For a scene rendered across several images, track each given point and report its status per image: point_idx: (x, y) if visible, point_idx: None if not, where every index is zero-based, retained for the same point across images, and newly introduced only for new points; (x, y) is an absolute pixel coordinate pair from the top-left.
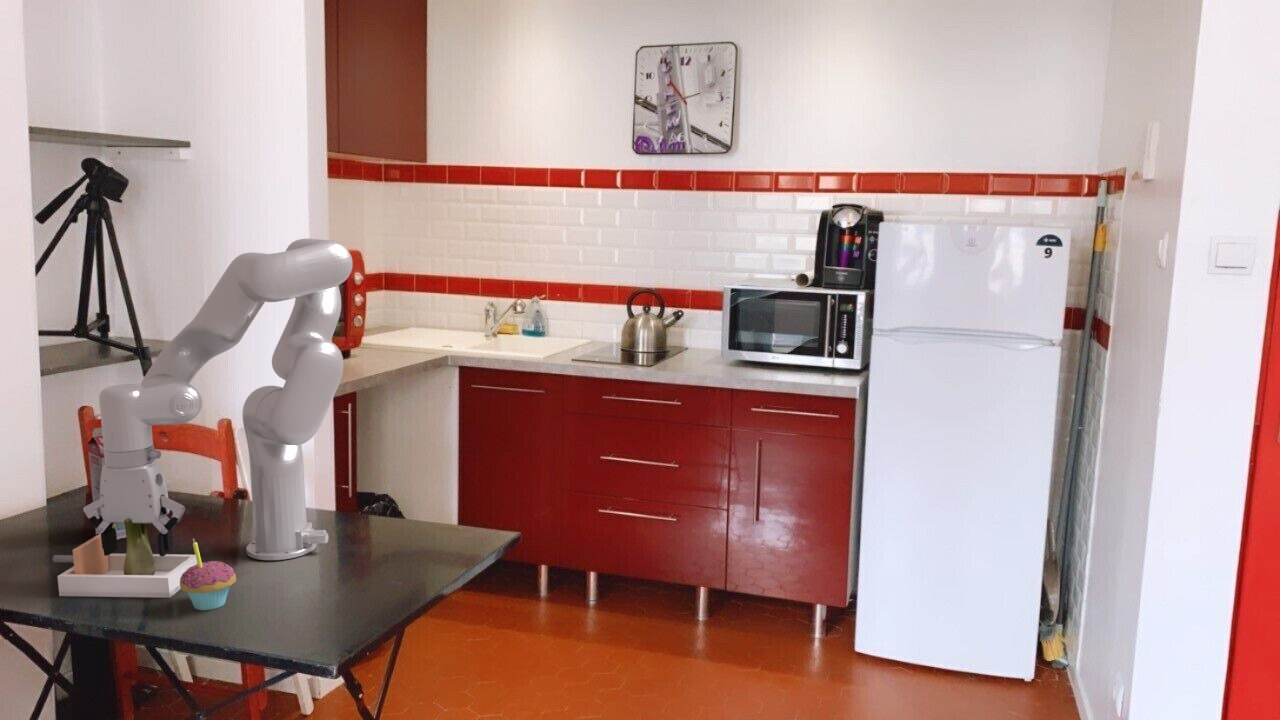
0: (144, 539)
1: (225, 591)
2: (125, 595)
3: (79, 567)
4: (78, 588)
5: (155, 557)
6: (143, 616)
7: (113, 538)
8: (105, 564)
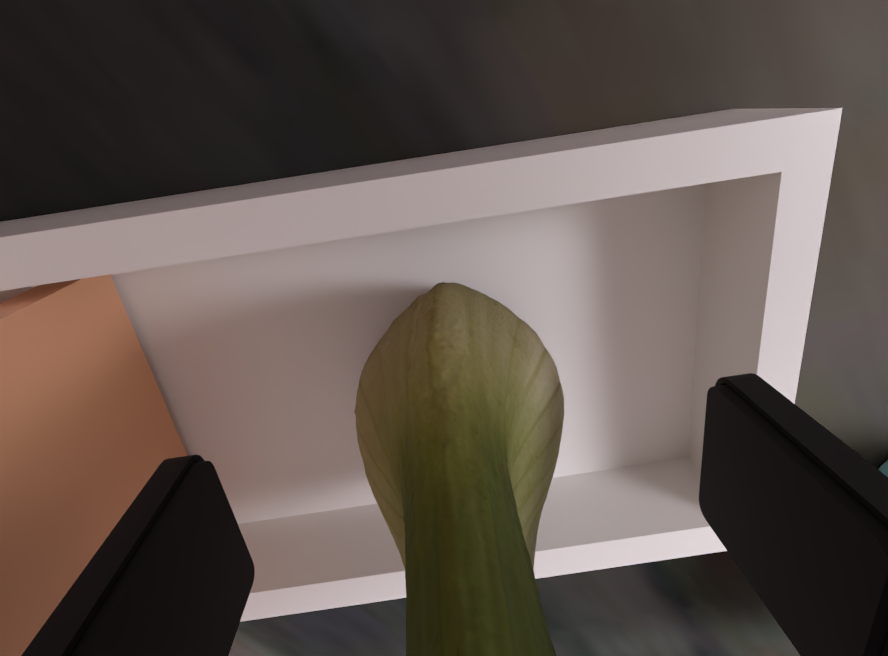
0: (521, 515)
1: None
2: None
3: None
4: None
5: (455, 219)
6: (678, 615)
7: (170, 612)
8: (94, 323)
